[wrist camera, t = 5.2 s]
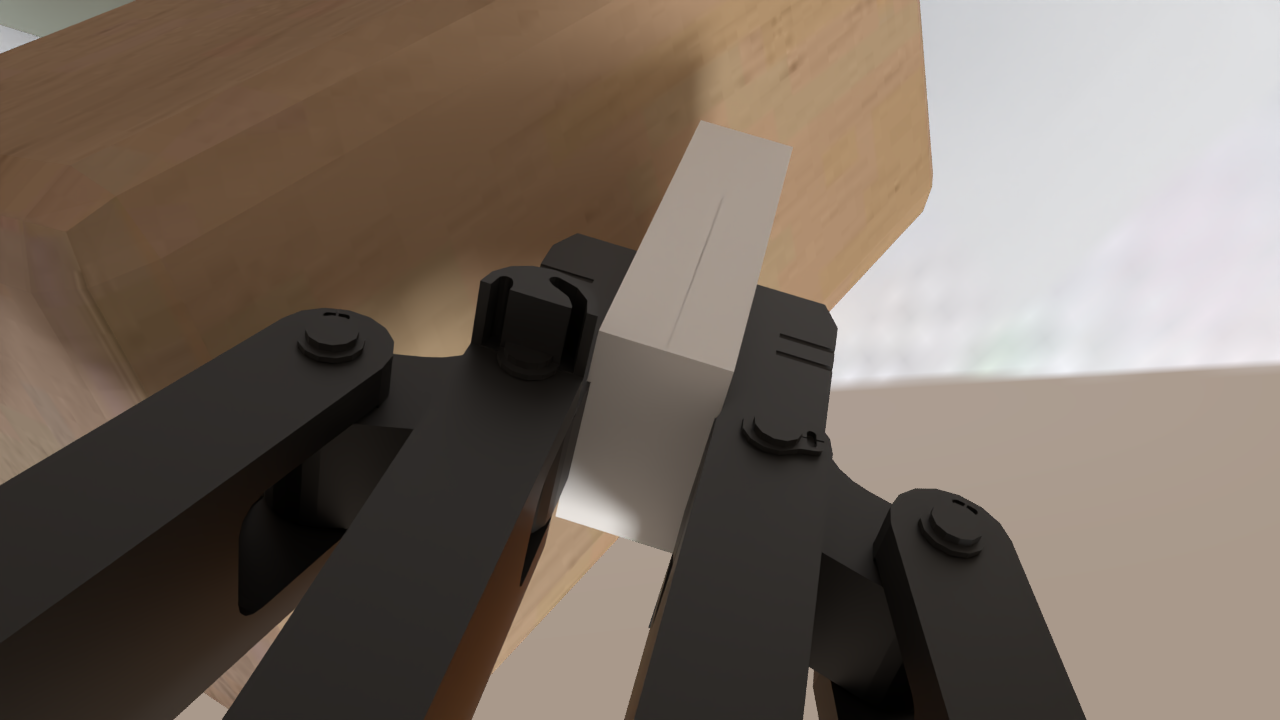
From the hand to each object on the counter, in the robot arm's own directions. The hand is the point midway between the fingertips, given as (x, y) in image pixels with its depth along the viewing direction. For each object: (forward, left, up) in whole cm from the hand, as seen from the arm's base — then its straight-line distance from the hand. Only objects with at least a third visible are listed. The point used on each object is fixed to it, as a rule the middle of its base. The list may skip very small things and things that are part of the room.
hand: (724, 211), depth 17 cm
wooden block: (0, -1, -13) cm, 13 cm away
